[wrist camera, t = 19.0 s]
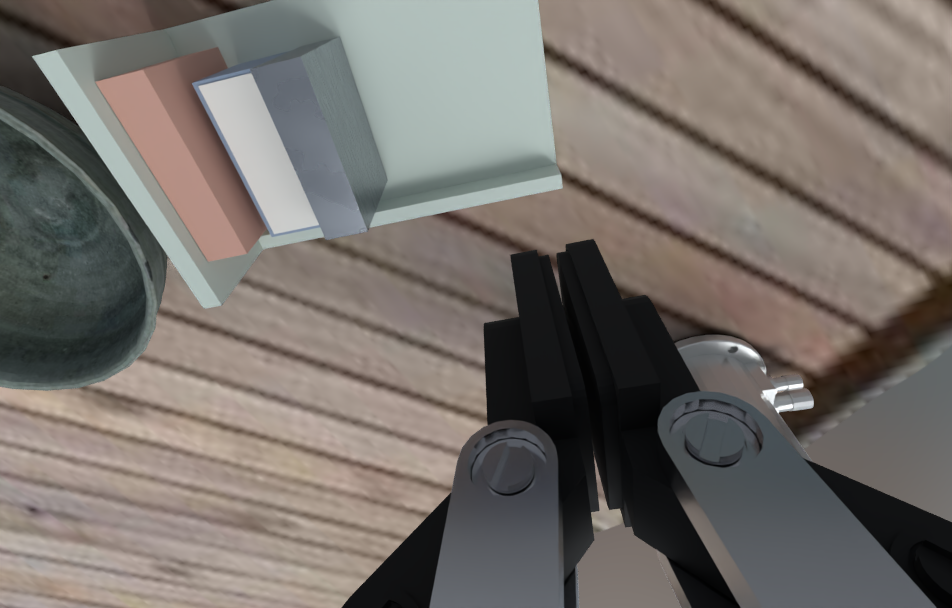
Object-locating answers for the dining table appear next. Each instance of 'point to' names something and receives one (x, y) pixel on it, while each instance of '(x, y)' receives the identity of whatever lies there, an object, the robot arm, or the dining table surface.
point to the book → (256, 147)
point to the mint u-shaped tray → (382, 94)
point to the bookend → (325, 134)
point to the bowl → (68, 257)
